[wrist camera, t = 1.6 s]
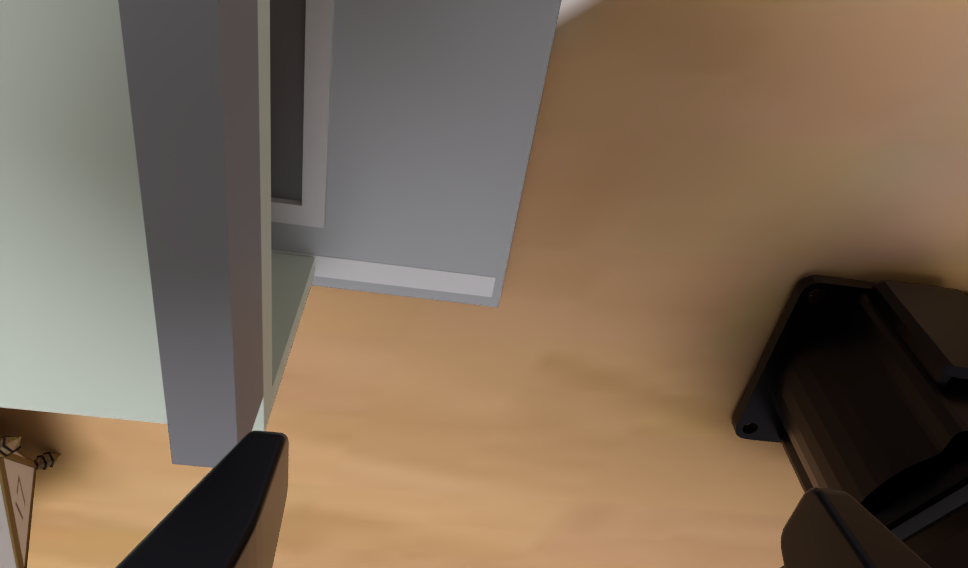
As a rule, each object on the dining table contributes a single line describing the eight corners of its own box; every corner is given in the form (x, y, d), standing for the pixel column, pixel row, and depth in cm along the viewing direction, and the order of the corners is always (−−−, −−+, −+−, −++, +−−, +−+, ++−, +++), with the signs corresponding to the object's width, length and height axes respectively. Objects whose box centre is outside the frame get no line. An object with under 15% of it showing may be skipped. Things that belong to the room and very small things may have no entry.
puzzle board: (497, 295, 22) (498, 313, 22) (-354, 193, 20) (-385, 209, 19) (589, -159, 16) (595, -156, 15) (-665, -389, 14) (-731, -399, 13)
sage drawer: (314, 275, 21) (240, 508, 14) (51, 243, 20) (-157, 473, 14) (329, -182, 15) (210, -150, 8) (-48, -250, 14) (-518, -275, 7)
